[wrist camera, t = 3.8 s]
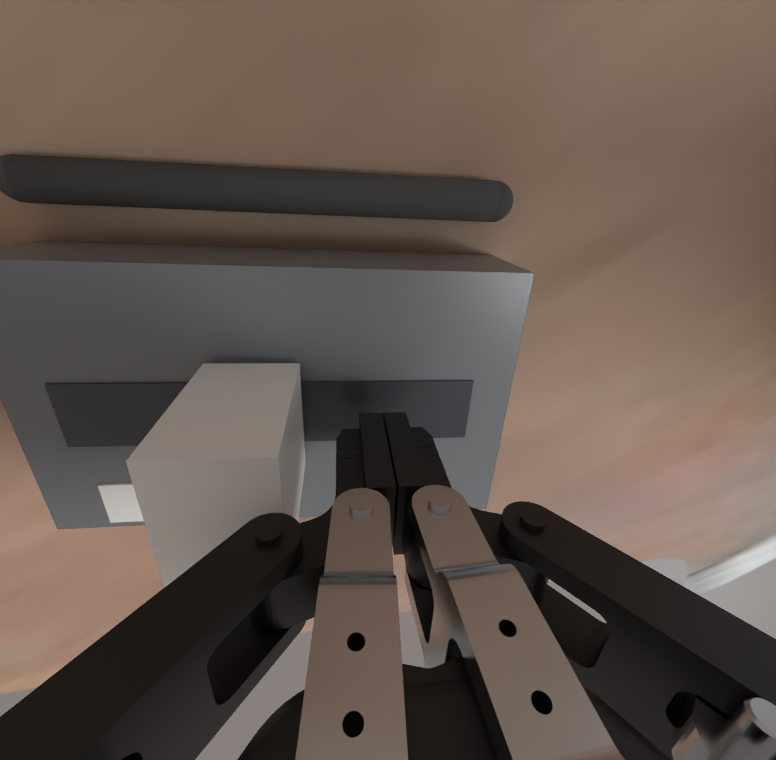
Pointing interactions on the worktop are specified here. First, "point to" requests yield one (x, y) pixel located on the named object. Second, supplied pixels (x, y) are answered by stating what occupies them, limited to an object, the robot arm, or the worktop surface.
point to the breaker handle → (220, 459)
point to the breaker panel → (249, 353)
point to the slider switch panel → (249, 189)
